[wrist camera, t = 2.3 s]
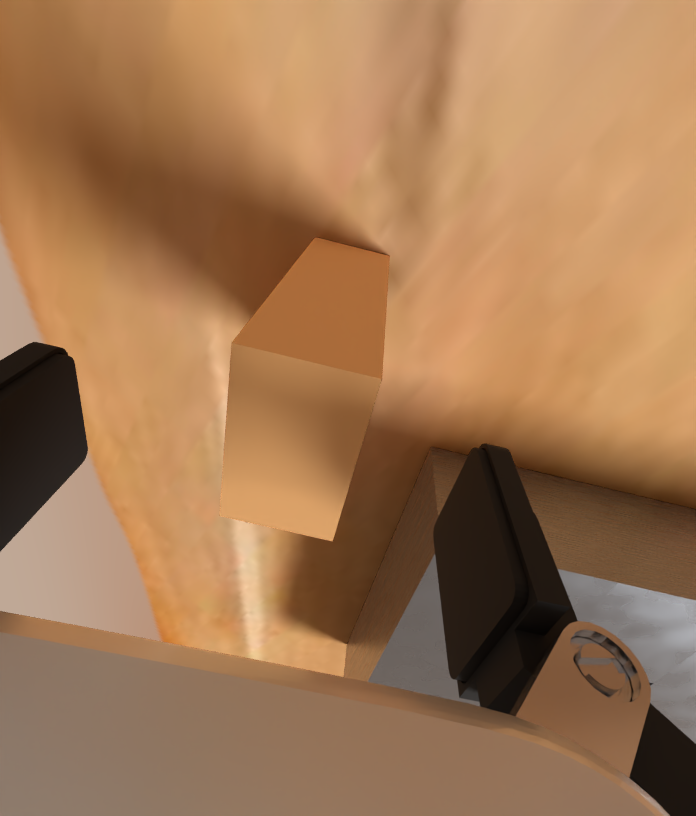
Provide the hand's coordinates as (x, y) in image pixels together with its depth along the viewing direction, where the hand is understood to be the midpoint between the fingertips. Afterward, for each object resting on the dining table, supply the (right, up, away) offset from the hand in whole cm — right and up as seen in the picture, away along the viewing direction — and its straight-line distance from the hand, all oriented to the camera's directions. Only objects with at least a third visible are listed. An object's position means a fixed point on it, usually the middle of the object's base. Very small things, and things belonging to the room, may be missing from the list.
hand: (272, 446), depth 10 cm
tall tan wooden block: (+1, +5, +8) cm, 10 cm away
